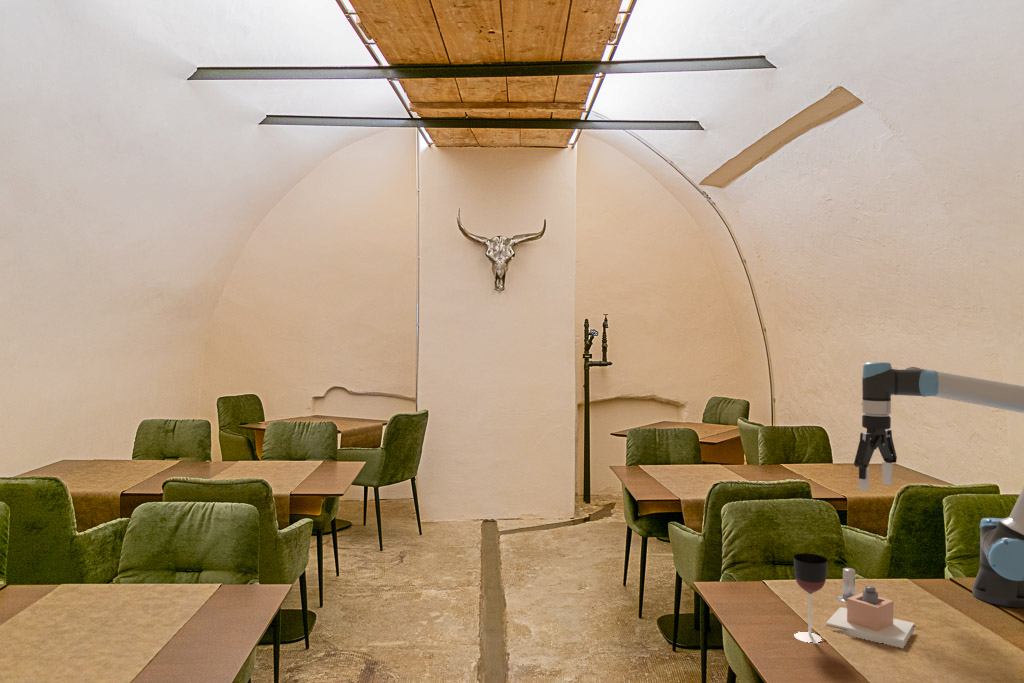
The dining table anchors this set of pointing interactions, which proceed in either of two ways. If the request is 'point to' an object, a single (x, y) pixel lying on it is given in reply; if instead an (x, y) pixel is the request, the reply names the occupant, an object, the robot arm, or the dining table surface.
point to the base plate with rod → (889, 635)
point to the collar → (870, 612)
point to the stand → (847, 585)
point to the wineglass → (810, 585)
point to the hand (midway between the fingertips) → (875, 487)
